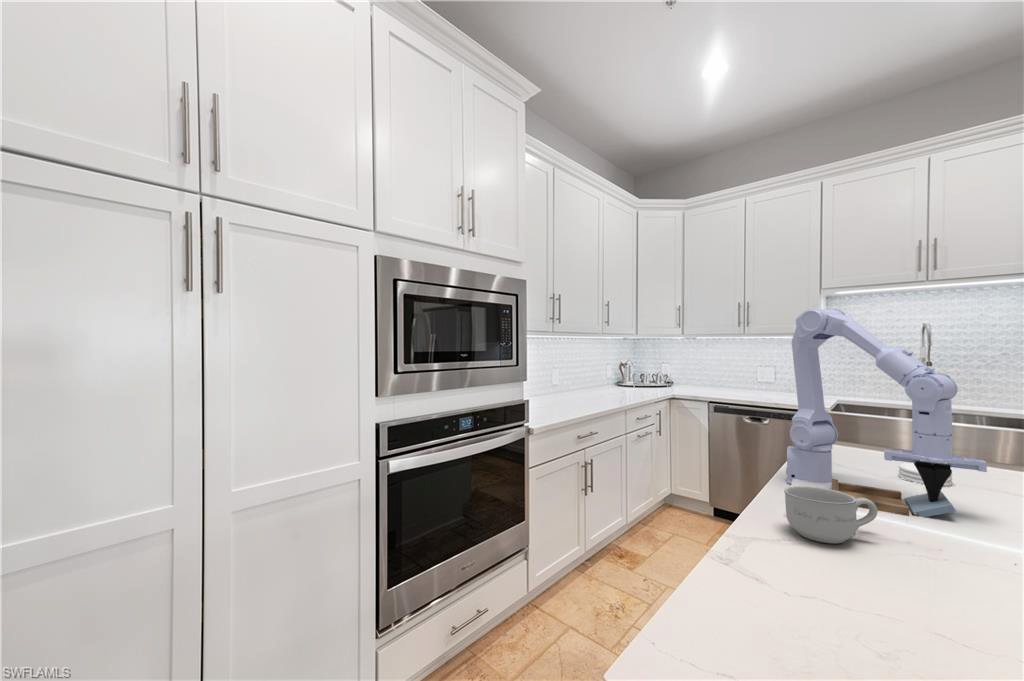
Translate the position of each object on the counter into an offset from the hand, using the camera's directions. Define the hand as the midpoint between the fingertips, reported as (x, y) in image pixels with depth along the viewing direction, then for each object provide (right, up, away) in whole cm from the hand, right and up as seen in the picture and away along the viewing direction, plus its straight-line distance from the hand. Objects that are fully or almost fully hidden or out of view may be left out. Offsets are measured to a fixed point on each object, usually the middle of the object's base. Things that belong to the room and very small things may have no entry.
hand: (933, 501), depth 85 cm
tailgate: (-3, -2, +2) cm, 4 cm away
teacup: (-27, -4, -8) cm, 29 cm away
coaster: (+22, -4, +25) cm, 33 cm away
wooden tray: (-8, -4, +6) cm, 11 cm away
